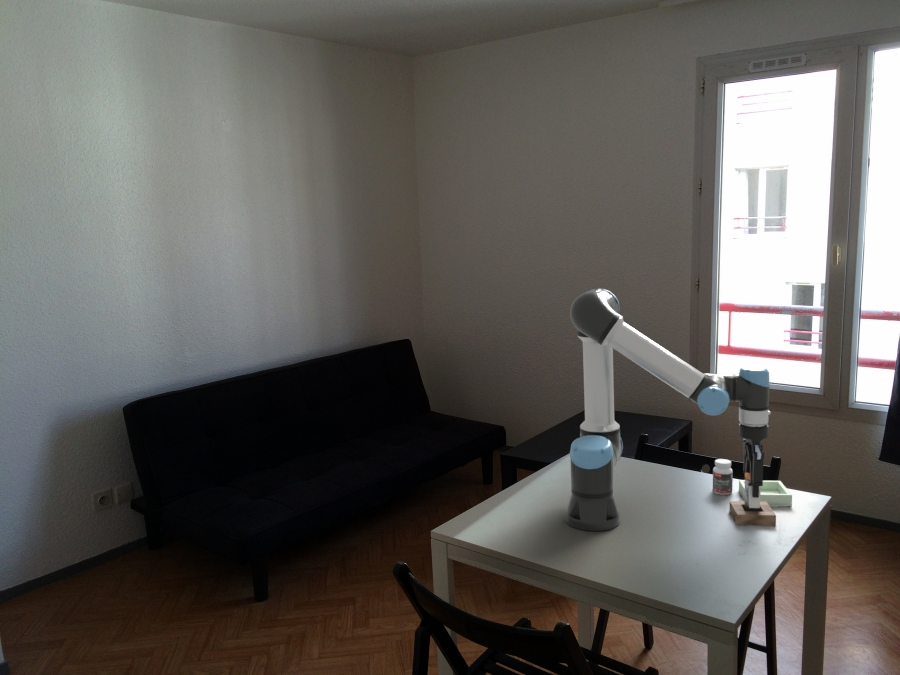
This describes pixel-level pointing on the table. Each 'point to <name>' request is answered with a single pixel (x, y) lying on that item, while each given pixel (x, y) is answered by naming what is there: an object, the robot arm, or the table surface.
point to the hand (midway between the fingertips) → (752, 504)
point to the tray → (771, 493)
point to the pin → (746, 504)
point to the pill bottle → (722, 477)
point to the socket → (752, 514)
